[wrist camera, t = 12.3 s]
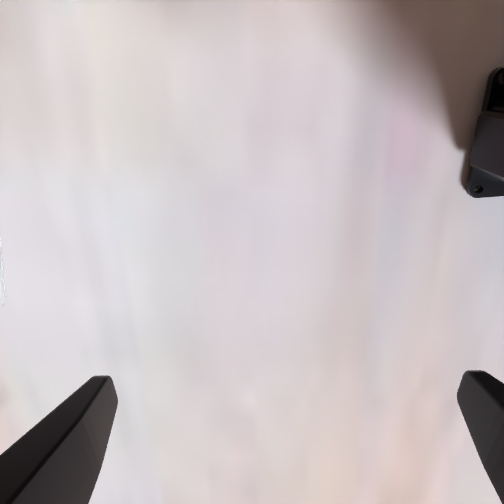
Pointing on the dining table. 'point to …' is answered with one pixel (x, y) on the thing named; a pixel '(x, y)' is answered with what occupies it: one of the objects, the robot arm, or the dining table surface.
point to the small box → (2, 281)
